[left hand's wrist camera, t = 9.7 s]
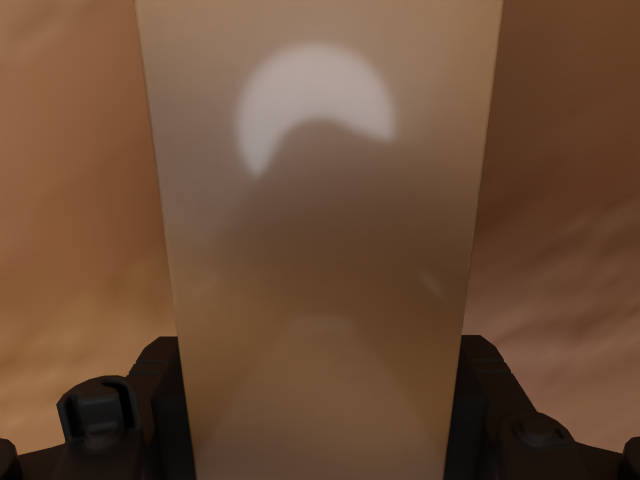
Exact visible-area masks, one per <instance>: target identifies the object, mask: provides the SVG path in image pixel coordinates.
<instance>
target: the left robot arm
mask: <svg viewBox="0 0 640 480" xmlns="http://www.w3.org/2000/svg"><path fill="white" fill-rule="evenodd" d="M56 405H57V409H58V413H59V417H60V421H61V425H62V429H63V433H64V437H65V443H64V444H61V445H58V446H55V447H52V448H47V449H43V450H39V451H35V452H31V453H26V454H22V455H18V454H17V451H16V448H15V445H14V444H12V443H11V442H10V441H9V440H7V439H2V438H0V480H196V474H195V466H194V458H193V451H192V443H191V435H190V428H189V420H188V412H187V405H186V397H185V389H184V382H183V374H182V366H181V359H180V351H179V343H178V337H158V338H157V339H156V340H154V341H153V342H152V343H150V344H149V345H148V346H146V347H145V348H144V350H143V351H142V353H141V354H140V356H139V357H138V359H137V361H136V364H134V365H133V367H132V368H131V370H130V372H129V375H127V376H126V377H122V376H119V375H111V376H101V377H97V378H93V379H89V380H87V381H85V382H82V383H80V384H78V385H76V386H74V387H73V388H72V389H70V390H69V391H68V392H66V393H65V394H64V395H63V396H62V397H61V399H60V400H59V401H58V403H57V404H56ZM443 480H640V436H639V437H633V438H631V439H630V440H629V441H628V442H627V443H626V444H625V446H624V450H623V453H617V452H613V451H609V450H605V449H600V448H596V447H592V446H588V445H585V444H581V443H578V442H575V440H574V439H573V437H572V436H571V434H570V433H569V431H568V430H567V429H566V428H565V427H564V426H563V425H561V424H560V423H559V422H558V421H557V420H555V419H553V418H551V417H549V416H547V415H545V414H543V413H539V412H537V411H536V409H535V408H534V406H533V404H532V403H531V401H530V400H529V398H528V397H527V395H526V394H525V392H524V390H523V389H522V387H521V386H520V384H519V383H518V381H517V380H516V378H515V376H514V375H513V374H511V370H510V369H509V367H508V366H507V364H506V362H504V359H503V358H502V356H501V355H500V353H499V351H498V350H497V348H496V347H495V346H494V345H493V344H491V343H490V342H489V341H487V340H486V339H485V338H483V337H482V336H481V335H461V343H460V351H459V359H458V367H457V375H456V383H455V391H454V399H453V407H452V414H451V422H450V430H449V438H448V446H447V454H446V462H445V470H444V478H443Z"/></svg>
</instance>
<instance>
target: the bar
mask: <svg viewBox="0 0 640 480" xmlns="http://www.w3.org/2000/svg"><path fill="white" fill-rule="evenodd" d="M503 3H504V0H134V7H135V14H136V22H137V30H138V37H139V45H140V53H141V60H142V68H143V75H144V83H145V91H146V98H147V106H148V114H149V121H150V129H151V137H152V144H153V152H154V160H155V167H156V175H157V183H158V190H159V198H160V206H161V213H162V221H163V229H164V236H165V244H166V252H167V259H168V267H169V275H170V282H171V290H172V298H173V305H174V313H175V320H176V328H177V336H178V343H179V351H180V359H181V366H182V374H183V382H184V389H185V397H186V405H187V412H188V420H189V428H190V435H191V443H192V451H193V458H194V466H195V474H196V480H443V478H444V470H445V462H446V454H447V446H448V438H449V430H450V422H451V414H452V407H453V399H454V391H455V383H456V375H457V367H458V359H459V351H460V343H461V335H462V327H463V319H464V312H465V304H466V296H467V288H468V280H469V272H470V264H471V256H472V248H473V240H474V232H475V225H476V217H477V209H478V201H479V193H480V185H481V177H482V169H483V161H484V153H485V145H486V137H487V130H488V122H489V114H490V106H491V98H492V90H493V82H494V74H495V66H496V58H497V50H498V43H499V35H500V27H501V19H502V11H503Z"/></svg>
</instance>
